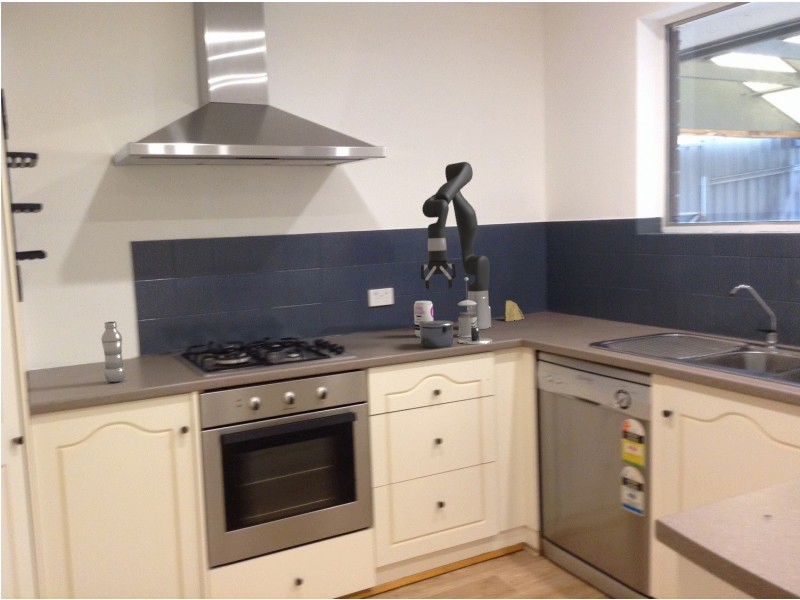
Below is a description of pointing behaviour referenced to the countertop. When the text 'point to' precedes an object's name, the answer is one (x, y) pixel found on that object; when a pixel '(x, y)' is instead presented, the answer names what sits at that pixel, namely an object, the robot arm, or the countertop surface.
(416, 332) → the supplement can
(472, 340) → the lid
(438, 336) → the pot
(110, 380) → the plastic bottle
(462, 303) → the french press
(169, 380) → the countertop surface
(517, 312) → the yellow wedge
